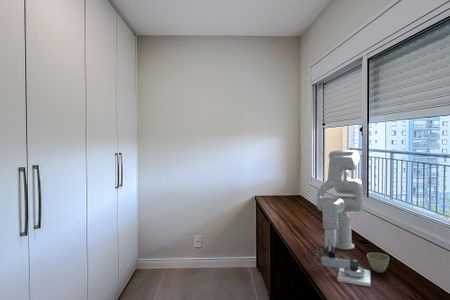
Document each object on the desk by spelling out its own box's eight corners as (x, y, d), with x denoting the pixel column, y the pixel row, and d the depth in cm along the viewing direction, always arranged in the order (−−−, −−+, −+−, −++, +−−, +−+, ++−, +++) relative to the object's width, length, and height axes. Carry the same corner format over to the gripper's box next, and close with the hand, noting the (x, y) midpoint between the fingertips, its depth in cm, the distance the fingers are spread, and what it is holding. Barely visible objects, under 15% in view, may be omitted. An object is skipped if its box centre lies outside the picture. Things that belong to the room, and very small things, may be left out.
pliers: (315, 262, 155) (305, 248, 175) (315, 264, 155) (305, 250, 175) (333, 261, 155) (320, 247, 175) (333, 263, 155) (320, 249, 175)
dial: (364, 270, 140) (364, 258, 140) (364, 279, 132) (363, 265, 132) (323, 264, 149) (322, 252, 149) (320, 272, 141) (320, 259, 141)
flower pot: (368, 264, 151) (367, 251, 151) (389, 268, 146) (389, 254, 146) (366, 272, 142) (366, 258, 142) (389, 276, 137) (389, 261, 137)
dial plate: (340, 268, 148) (340, 265, 148) (370, 273, 142) (370, 269, 141) (337, 281, 135) (337, 277, 135) (370, 286, 129) (370, 282, 129)
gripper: (325, 220, 157) (326, 252, 158) (320, 228, 144) (322, 263, 145) (339, 221, 154) (340, 254, 154) (336, 229, 141) (338, 266, 141)
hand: (331, 259), depth 150 cm, fingers closed
